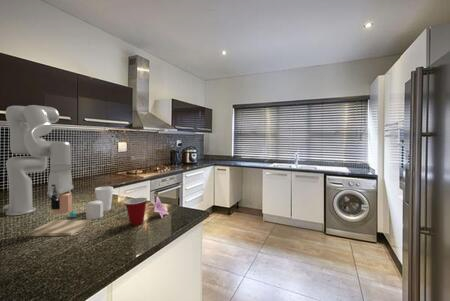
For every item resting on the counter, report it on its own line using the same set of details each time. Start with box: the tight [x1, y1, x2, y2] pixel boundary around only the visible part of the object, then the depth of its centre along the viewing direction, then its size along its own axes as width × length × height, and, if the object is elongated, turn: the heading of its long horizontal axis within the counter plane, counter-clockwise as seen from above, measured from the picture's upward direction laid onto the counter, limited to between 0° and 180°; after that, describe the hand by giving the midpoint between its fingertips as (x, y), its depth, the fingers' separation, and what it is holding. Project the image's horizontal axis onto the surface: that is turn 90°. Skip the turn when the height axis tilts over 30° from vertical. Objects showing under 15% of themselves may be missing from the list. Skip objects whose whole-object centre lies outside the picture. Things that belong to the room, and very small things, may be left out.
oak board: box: [26, 219, 92, 237], centre depth 101 cm, size 18×16×1 cm
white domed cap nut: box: [85, 200, 104, 221], centre depth 116 cm, size 7×7×8 cm
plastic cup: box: [123, 197, 148, 226], centre depth 108 cm, size 11×11×12 cm
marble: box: [69, 210, 77, 219], centre depth 115 cm, size 3×3×3 cm
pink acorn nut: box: [50, 192, 73, 215], centre depth 100 cm, size 7×7×8 cm
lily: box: [150, 196, 169, 219], centre depth 119 cm, size 12×12×10 cm
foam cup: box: [94, 186, 114, 212], centre depth 129 cm, size 10×9×13 cm
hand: (61, 206), depth 100 cm, fingers closed on pink acorn nut, 7 cm apart
